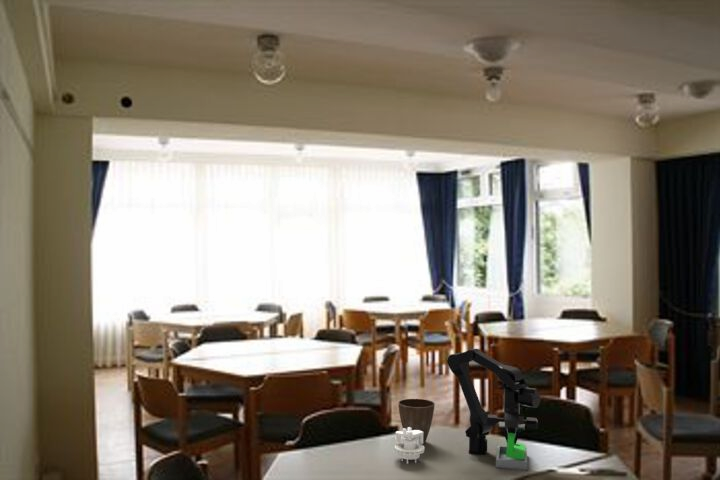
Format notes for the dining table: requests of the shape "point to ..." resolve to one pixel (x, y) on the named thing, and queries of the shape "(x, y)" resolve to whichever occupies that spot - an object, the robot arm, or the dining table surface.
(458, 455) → the dining table surface
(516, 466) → the parts tray
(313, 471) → the dining table surface
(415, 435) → the mechanical part
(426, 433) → the plant pot
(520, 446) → the mechanical part
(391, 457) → the dining table surface
